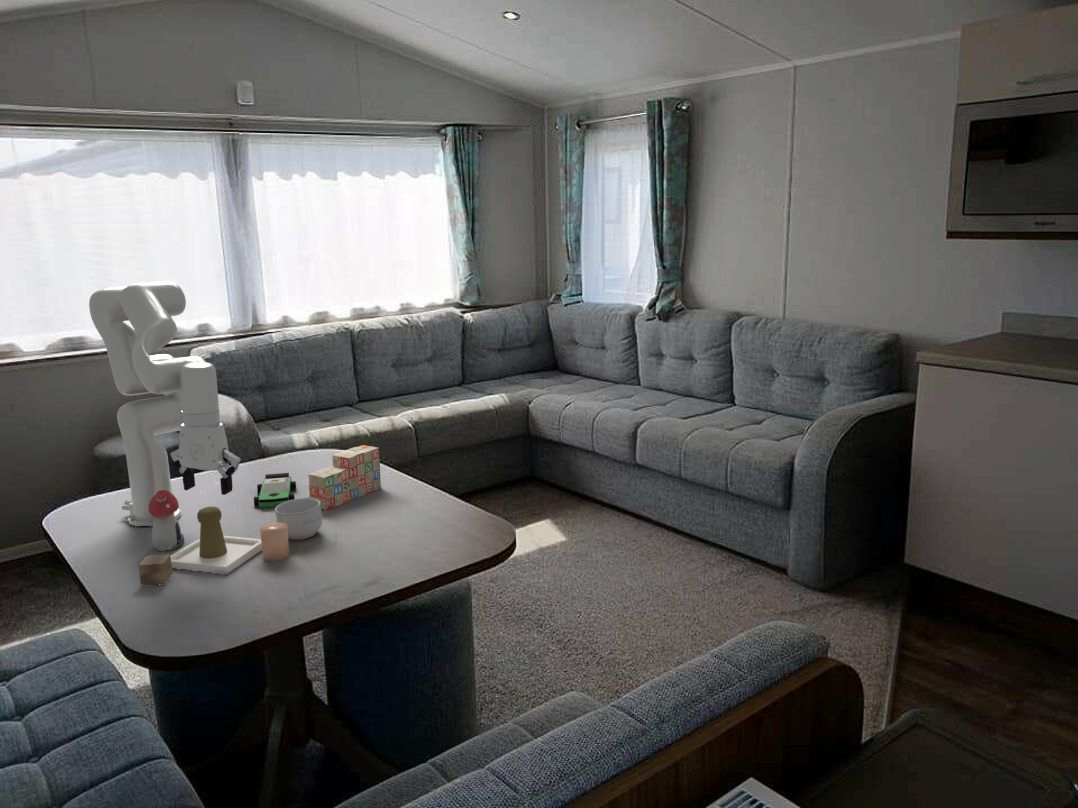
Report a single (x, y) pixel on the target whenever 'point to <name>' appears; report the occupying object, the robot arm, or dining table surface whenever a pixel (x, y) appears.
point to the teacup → (300, 517)
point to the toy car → (275, 490)
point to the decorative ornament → (165, 521)
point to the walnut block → (155, 569)
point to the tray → (235, 556)
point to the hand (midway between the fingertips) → (208, 490)
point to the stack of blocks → (346, 477)
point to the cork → (211, 533)
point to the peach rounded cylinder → (274, 541)
